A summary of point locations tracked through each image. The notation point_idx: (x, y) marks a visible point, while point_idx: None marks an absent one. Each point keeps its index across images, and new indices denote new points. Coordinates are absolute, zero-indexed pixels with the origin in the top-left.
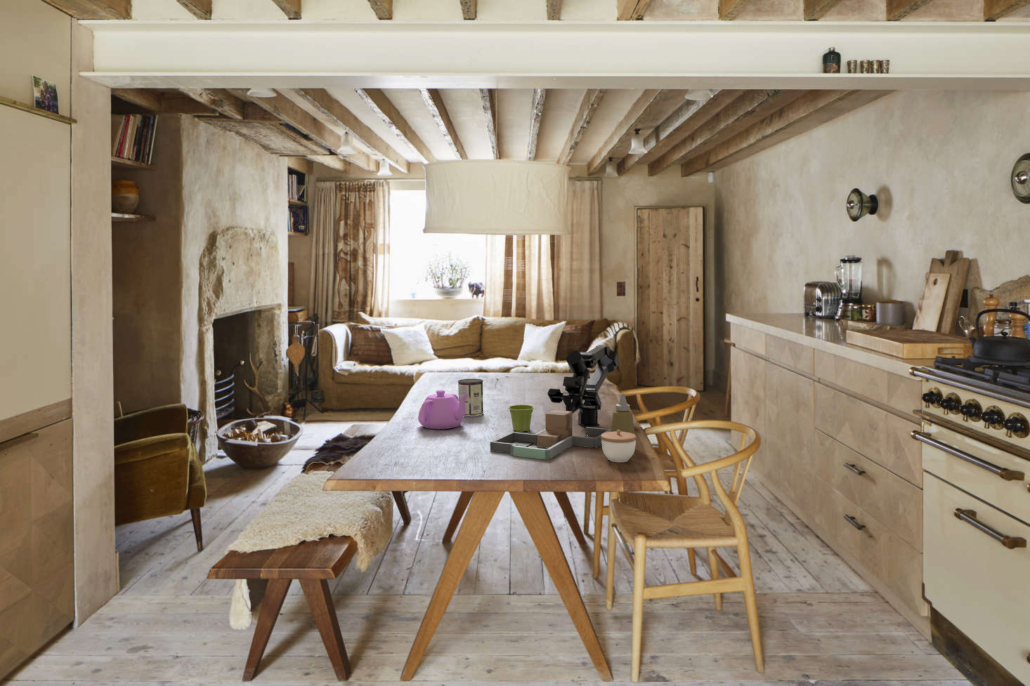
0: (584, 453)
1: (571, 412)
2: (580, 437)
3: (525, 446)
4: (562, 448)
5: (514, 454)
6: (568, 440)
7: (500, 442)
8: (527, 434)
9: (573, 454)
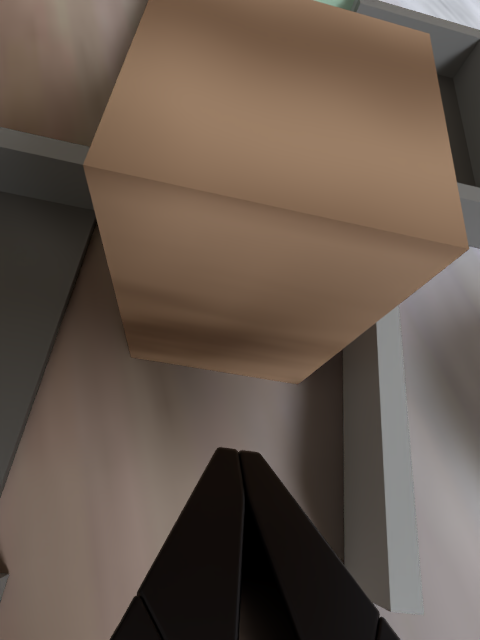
0: (3, 60)
1: (97, 141)
2: (17, 131)
3: None
4: None
5: None
6: None
7: (446, 26)
8: None
9: (70, 45)
